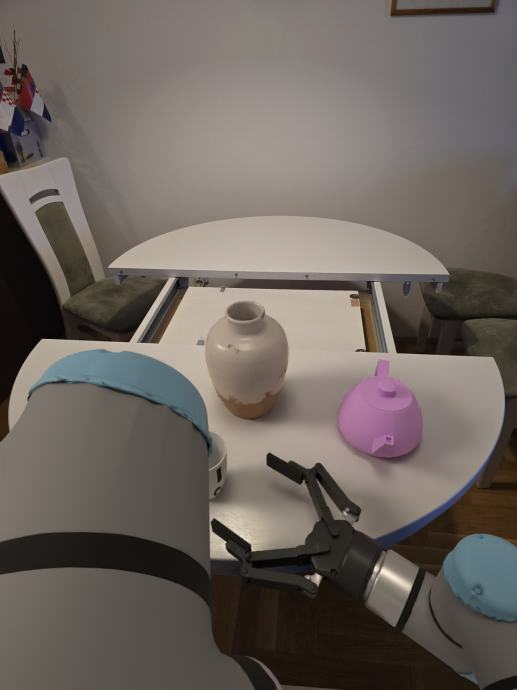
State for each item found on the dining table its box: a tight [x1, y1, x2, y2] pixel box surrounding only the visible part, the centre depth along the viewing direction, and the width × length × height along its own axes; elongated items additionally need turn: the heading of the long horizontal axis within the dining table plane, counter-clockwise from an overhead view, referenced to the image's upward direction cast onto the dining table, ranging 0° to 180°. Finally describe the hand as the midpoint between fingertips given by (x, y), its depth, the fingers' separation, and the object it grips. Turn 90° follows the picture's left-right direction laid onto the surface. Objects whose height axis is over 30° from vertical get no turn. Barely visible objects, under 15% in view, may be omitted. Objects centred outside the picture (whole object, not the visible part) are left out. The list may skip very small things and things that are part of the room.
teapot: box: [336, 358, 424, 459], centre depth 74 cm, size 22×16×12 cm
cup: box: [209, 430, 228, 501], centre depth 66 cm, size 8×8×10 cm
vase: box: [204, 300, 290, 420], centre depth 78 cm, size 16×16×23 cm
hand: (242, 489), depth 62 cm, fingers open, 13 cm apart
